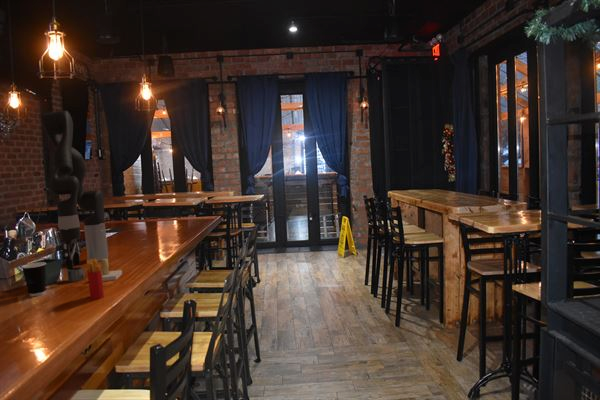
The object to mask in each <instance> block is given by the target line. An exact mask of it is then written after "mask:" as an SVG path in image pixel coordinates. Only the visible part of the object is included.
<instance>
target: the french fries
mask: <svg viewBox="0 0 600 400" xmlns="http://www.w3.org/2000/svg"><path fill="white" fill-rule="evenodd" d="M99 262H100V261H98V260H97V259H94V258H93V259H90V260H88V259H87V260H86V267H87V272H86V273H87V280H88V287H89V289H88V290H89V295H90V300H94V301H95V300H100V299H103V298H104V296H105V292H104V291H105V290H104V281H103V280H102V267H101V263H99Z"/></svg>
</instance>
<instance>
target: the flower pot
mask: <svg viewBox="0 0 600 400" xmlns="http://www.w3.org/2000/svg"><path fill="white" fill-rule="evenodd" d="M62 260H63V258H43V259H40V260H36V261H33V262H29V263H27V264H31V263H38V262H45V263H46V264H45V276H46V286H48V285H51V284H54V283H57V282H58V280H59V279H60V277H61V273H62Z"/></svg>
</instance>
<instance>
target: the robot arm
mask: <svg viewBox="0 0 600 400" xmlns="http://www.w3.org/2000/svg"><path fill="white" fill-rule="evenodd" d="M40 120H41V124H42V127H43V129H44V131H45V133H46V135H47V137H48V139H49V140H50V142H51V145H52V146H53V148H54V149H53V153H52V167H53V168H52V169H53V170H52V175H51V178H50V180H49V191H50V192H51V193H52V194H53V195H55V196H62V195H70V196H69V198H67V199H64V200H61V201H58V202H57V204H56V209H57V217H58V218H57V219H58V221H57V222H58V224H57V225H58V234H59V240H61V241H65V242H64V243H62V244H61V253H62V260H64V261H65V266H66V271H67V270H72V269H73V268H74V266H80V265H81V259H80V256H81V253H82V247H81V237H82V235H81V233H82V232H81V226H80V219H79V214H78V208H79V209H80V210H82V211H93V213H92V214H91V215H90V216H88V217H85V218H84V219H83V228H84V237H85V244H86V253H87V254H86V255H87V260H90V259H93V258H94V259H97V260H98V262H101V259H108V260H109V250H108V240H107V232H106V231H107V230H106V223H105V203H104V195H103V193H102V191H101V190H99V189H95V190H94V189H93V190H85V189H84V186H83V184H84V183H83V182H84V179H85V177H86V173H87V165H86V162H85V160H84V157H83V155H82V154H81V152H79V151H78V150H77V149H76V148H74V147H73V137H74V135H73V134H74V121H73V118H72V116H71V114H70V113H69V111H68V110H58V111H52V112H47V113H43V114H42V115H41V119H40ZM61 134H62V136H60V135H61Z"/></svg>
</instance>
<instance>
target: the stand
mask: <svg viewBox="0 0 600 400" xmlns="http://www.w3.org/2000/svg"><path fill="white" fill-rule="evenodd" d="M100 265H101V270H102V280H103V282H105V281H107V282H108V281H115V280H118V278H120V276H122V275H123V271H122V269H118V270H110V269H109V266H110V265H109V258H108V259H101V261H100Z"/></svg>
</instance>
